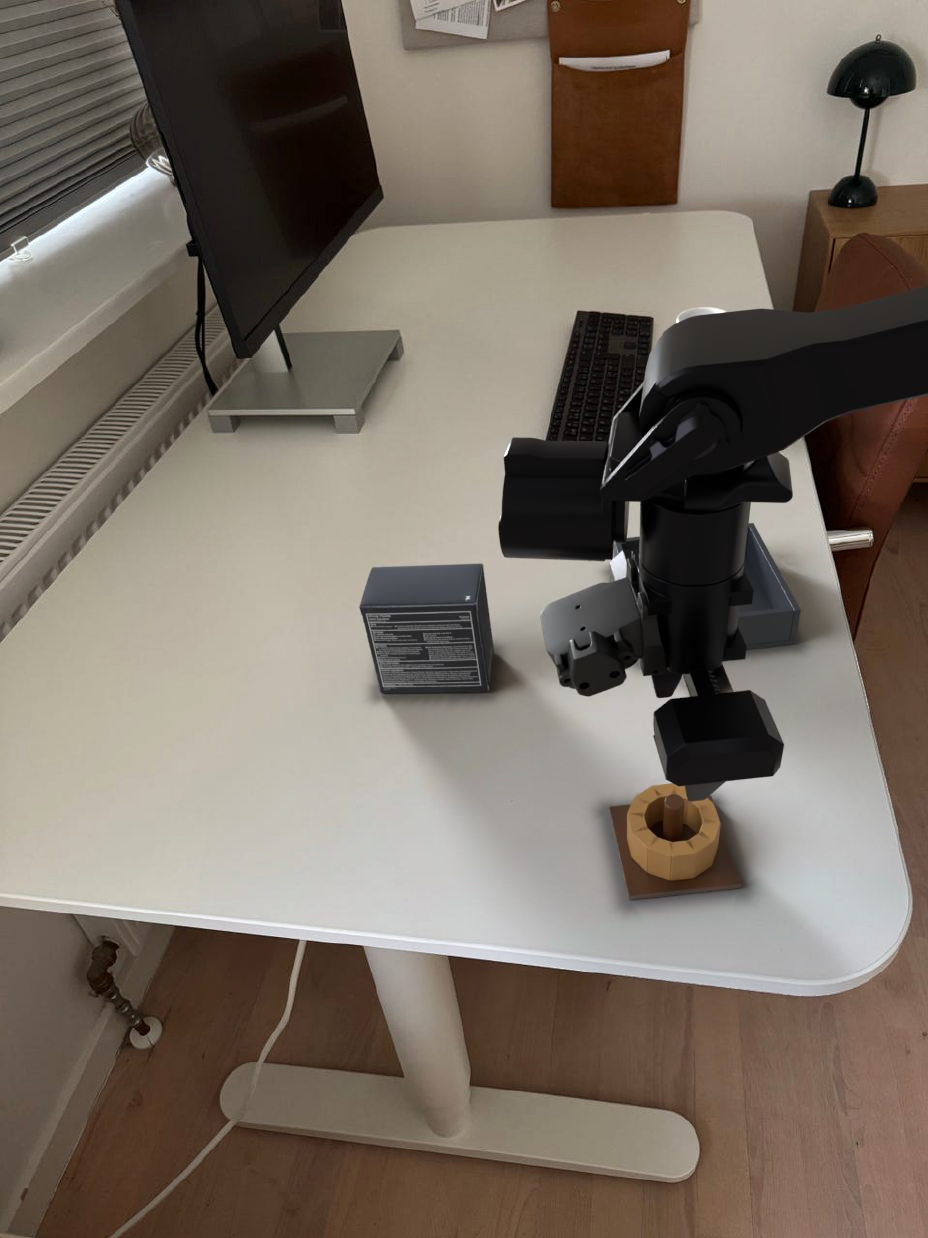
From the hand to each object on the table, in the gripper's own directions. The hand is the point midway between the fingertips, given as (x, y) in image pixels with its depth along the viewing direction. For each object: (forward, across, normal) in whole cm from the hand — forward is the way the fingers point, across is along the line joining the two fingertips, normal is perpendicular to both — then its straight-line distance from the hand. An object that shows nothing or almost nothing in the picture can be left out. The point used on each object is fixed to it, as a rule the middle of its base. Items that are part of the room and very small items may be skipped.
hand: (678, 744), depth 59 cm
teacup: (+12, -86, +24) cm, 89 cm away
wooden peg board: (+11, 0, 0) cm, 11 cm away
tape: (+11, 0, 0) cm, 11 cm away
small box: (+12, -22, -17) cm, 30 cm away
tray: (+11, -28, +9) cm, 31 cm away
